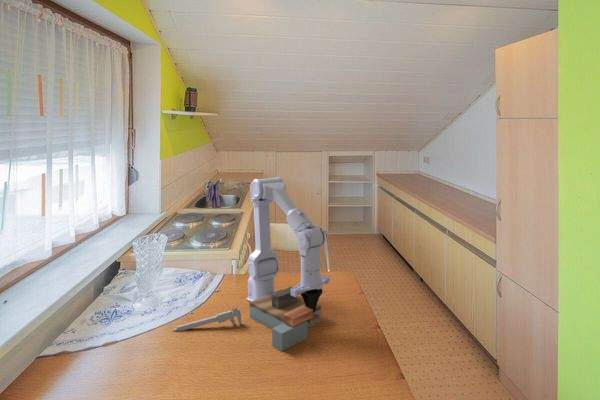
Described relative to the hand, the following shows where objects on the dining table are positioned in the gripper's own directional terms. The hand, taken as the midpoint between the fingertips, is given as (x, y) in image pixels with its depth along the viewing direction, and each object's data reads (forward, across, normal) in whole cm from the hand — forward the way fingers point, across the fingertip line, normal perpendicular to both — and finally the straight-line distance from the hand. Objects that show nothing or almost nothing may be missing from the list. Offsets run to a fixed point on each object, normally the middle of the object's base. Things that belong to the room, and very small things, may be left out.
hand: (310, 312), depth 118 cm
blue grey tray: (+6, -3, +9) cm, 11 cm away
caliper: (+6, -20, +24) cm, 32 cm away
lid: (+3, 0, +9) cm, 9 cm away
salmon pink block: (0, -5, 0) cm, 5 cm away
